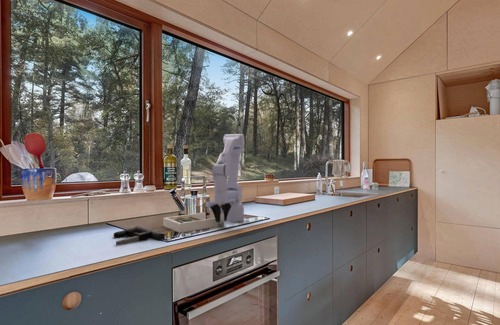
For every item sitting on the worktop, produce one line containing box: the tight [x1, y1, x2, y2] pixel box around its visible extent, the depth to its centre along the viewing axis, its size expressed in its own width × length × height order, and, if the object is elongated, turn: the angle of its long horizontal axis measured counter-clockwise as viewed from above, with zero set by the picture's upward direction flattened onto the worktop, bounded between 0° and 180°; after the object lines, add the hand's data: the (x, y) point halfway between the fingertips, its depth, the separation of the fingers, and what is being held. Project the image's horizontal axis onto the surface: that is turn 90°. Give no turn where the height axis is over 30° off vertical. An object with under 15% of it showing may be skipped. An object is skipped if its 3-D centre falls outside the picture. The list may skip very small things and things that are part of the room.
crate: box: [171, 216, 203, 223], centre depth 129 cm, size 12×14×3 cm
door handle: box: [112, 225, 165, 246], centre depth 110 cm, size 3×20×16 cm
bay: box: [162, 211, 219, 234], centre depth 131 cm, size 22×17×4 cm
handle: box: [217, 208, 226, 227], centre depth 128 cm, size 3×3×7 cm
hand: (221, 221), depth 128 cm, fingers closed on handle, 3 cm apart
